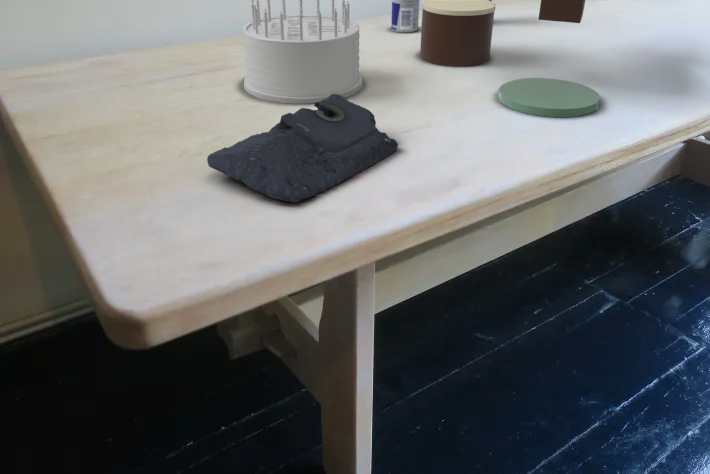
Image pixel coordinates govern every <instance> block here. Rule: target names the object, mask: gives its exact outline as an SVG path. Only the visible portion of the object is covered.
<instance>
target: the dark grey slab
mask: <svg viewBox="0 0 710 474" xmlns="http://www.w3.org/2000/svg"><path fill="white" fill-rule="evenodd" d="M313 104H314V107H315V108H317V109H311V108H308V107H307V108H306V107H301V108H299V109H297V110H296V111H295V112H294V113H292V112H288V113H285V114H282V115H281V116H280V121H279V122H278V123H276V124H275V125H274V126H273V127H271V128H270V129H269V131H267V132H266V131H265V132H264V131H263V132H261V133H256V134H252V135H250V136H248V137H247V138H244V139H242V140H240V141H237V142H236V143H234V144H233V145H231V146H228V147H223V148H220V149H219V150H216V151H214V152H212V153H209V155H208V156H207V158H206V161H207V165H208V167H209V168H211V169H212V170H216V171H218V172H220V173H222V174H224V175H225V176H227V177H230V178H233V179H234V180H235V181H239V182H242V183H244V184H245V185H246V186H247V187H248V188H250V189H252V190H254V191H257V192H259V193H261V194H264V195H265V196H268V197H270V198H272V199H275V200H281V201H283V202H291V203H298V202H300V201H302V200H306V199H307V198H312V197H316V196H317V195H319V194H321V193H324V192H325V191H326V190H329V189H332V188H333V187H334V186H338V185H340V184H342V183H343V182H344V181H347V180H349V179H351V178H353V177H355V175H357V174H359V173H361V172H362V171H365V170H367V169H368V168H369V167H372V166H374V164H376V163H379V161H381V160H384V159H385V158H387V157H389V156H390V154H393V153H394V152H395V151H397V149H398V147H399V144H398V142H397V141H396V140H395V139H394V138H391V137H389V136H388V134H387V133H386V132H381V131H380V130H379V129H378V128H377V126H376V125H377V121H376V119H375V114H373V112H371V110H369V109H368V108H366V107H364V106H362V105H359V104H356V103H354V102H352V101H349V100H348V99H346V97H345V98H343V97H342V96H341V95H338V94H332V95H330V96H329V97H328V98H326V99H324V100H322V101H320V102H315V103H313Z"/></svg>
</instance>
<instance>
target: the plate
mask: <svg viewBox="0 0 710 474" xmlns="http://www.w3.org/2000/svg"><path fill="white" fill-rule="evenodd" d="M498 91H499V92H498V100H499V102H500V103H501V104H503V105H504V106H505V107H507V108H509V109H511V110H514V111H517V112H520V113H524V114H529V115H533V116H538V117H539V116H540V117H548V118H571V117H581V116H585V115H586V116H587V115H588V114H589V115H590V114H591V113H594V112H595V111H597V110H598V109H599V105H600V100H601V97H600V94H599V93H598V91H596V90H595V89H593V88H592V87H589V86H587V85H584V84H581V83H578V82H574V81H569V80H564V79H557V78H549V77H528V78H518V79H513V80H510V81H507V82H505V83H503V84H501V85H500V87H499V89H498Z"/></svg>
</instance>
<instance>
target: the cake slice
mask: <svg viewBox="0 0 710 474" xmlns="http://www.w3.org/2000/svg"><path fill="white" fill-rule="evenodd" d="M585 4H586V0H540V5H539V6H540V7H539V13H538V20H539V21H547V22H548V21H550V22H559V23H560V22H561V23H570V24H571V23H573V24H581V22H582V19H583V17H584V10H585Z"/></svg>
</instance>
